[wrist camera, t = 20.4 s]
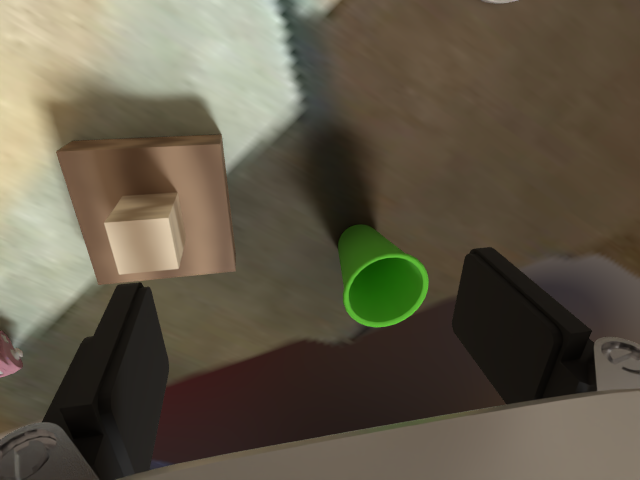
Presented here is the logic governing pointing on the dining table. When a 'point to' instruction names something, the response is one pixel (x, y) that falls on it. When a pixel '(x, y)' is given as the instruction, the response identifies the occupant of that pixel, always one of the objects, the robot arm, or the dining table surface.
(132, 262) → the birch block
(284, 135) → the dining table surface
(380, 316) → the cup
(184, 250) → the walnut block
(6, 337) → the video game controller
